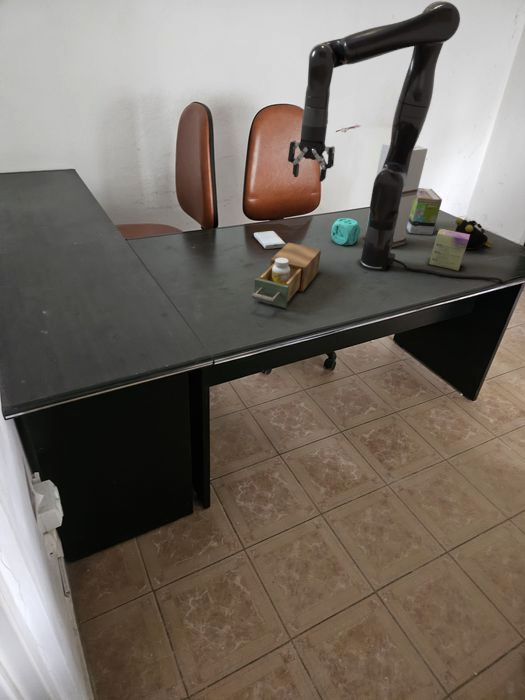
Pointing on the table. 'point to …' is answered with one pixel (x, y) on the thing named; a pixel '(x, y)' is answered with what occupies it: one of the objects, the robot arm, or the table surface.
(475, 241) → the black yellow plush toy
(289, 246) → the cabinet
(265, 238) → the hard drive
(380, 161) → the tall white carton
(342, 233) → the decorative dice
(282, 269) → the supplement bottle
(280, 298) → the drawer
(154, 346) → the table surface
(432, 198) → the tea box
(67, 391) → the table surface
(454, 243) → the box
